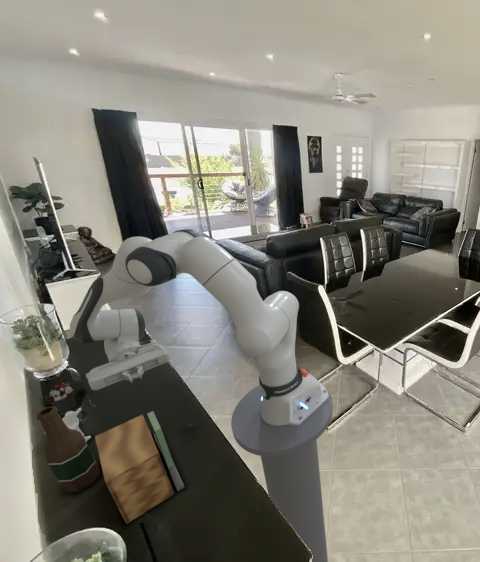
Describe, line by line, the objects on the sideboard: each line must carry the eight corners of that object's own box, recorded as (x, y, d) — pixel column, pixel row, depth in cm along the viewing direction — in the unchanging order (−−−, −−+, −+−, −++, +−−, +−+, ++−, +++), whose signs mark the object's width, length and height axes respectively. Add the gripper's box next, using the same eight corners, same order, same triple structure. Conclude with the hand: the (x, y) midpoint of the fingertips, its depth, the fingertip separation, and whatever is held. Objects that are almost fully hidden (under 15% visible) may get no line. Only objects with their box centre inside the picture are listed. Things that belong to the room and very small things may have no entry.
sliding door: (167, 446, 93) (154, 410, 87) (175, 464, 88) (162, 427, 82) (160, 450, 92) (146, 413, 86) (168, 468, 87) (154, 431, 81)
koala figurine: (94, 430, 98) (79, 401, 94) (97, 444, 94) (82, 414, 89) (57, 448, 93) (39, 417, 88) (58, 463, 89) (40, 431, 84)
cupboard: (159, 431, 98) (145, 394, 92) (184, 487, 83) (170, 446, 77) (109, 457, 90) (90, 418, 84) (126, 524, 75) (104, 481, 69)
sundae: (89, 408, 106) (72, 372, 100) (81, 424, 101) (62, 386, 95) (65, 414, 104) (46, 377, 98) (54, 430, 99) (33, 392, 93)
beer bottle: (105, 461, 89) (72, 394, 79) (97, 486, 83) (60, 417, 73) (69, 472, 86) (31, 404, 76) (58, 499, 80) (15, 429, 70)
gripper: (81, 364, 96) (86, 387, 87) (159, 337, 109) (171, 355, 100) (88, 381, 98) (95, 405, 89) (164, 352, 111) (176, 371, 102)
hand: (136, 378), depth 95 cm, fingers closed
